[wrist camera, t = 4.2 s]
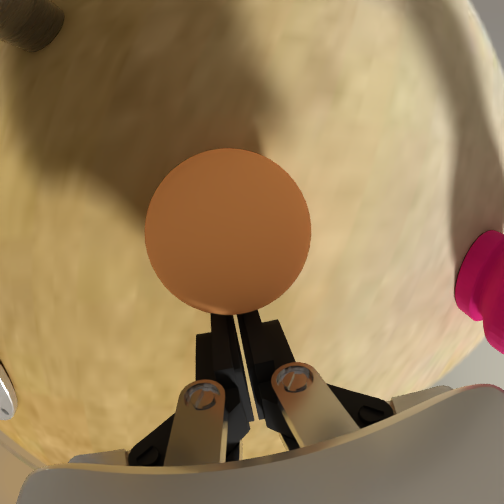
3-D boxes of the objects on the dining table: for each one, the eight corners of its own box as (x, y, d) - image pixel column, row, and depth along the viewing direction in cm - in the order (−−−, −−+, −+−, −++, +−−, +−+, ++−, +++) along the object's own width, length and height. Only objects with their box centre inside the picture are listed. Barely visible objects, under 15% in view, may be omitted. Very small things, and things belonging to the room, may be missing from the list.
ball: (152, 356, 6) (121, 137, 5) (164, 299, 11) (148, 173, 10) (347, 319, 7) (332, 126, 6) (284, 281, 12) (272, 161, 11)
